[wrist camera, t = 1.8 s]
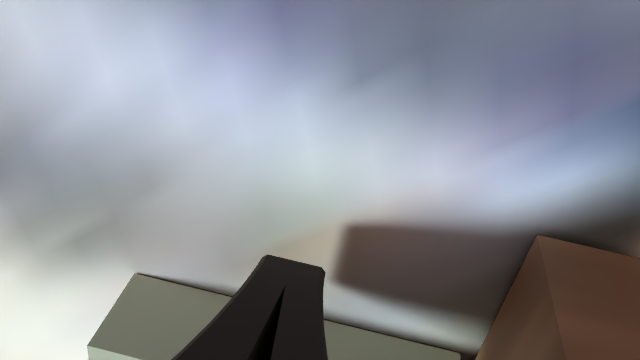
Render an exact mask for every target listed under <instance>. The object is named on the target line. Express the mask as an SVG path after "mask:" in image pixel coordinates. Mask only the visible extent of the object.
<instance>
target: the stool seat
mask: <svg viewBox="0 0 640 360" xmlns="http://www.w3.org/2000/svg"><path fill="white" fill-rule="evenodd" d="M231 298H232V297H229V296H224V295H220V294H216V293H212V292H208V291H204V290H200V289H196V288H192V287H188V286H184V285H180V284H176V283H172V282H167V281H163V280H159V279H155V278H151V277H147V276H143V275H139V274H134V275H133V277H132V278H131V280H130V281H129V283H128V284H127V286H126V287H125V289H124V290H123V292H122V293H121V295H120V296H119V298H118V299H117V301H116V303H115V304H114V306H113V307H112V309H111V310H110V312H109V313H108V315H107V316H106V318H105V319H104V321H103V322H102V324H101V325H100V327H99V328H98V330H97V332H96V333H95V335H94V336H93V338H92V339H91V341H90V342H89V344H88V345H87V348H88V355H89V360H171V359H172V358H173V357H175V356H176V355H177V354H178V353H179V352H180V351H181V350H182V349H183V348H184V347H185V346H186V345H187V344H188V343H189V342H190V341H191V340H192V339H193V338H195V337H196V336H197V335H198V334H199V333H200V332H201V331H202V330H203V329H204V328H205V327H206V326H207V325H208V324H209V323H210V322H211V321H212V319H213V318H214V317H215V316H216V315H217V314H218V313H219V312H220V311H221V309H222V308H223V307H224V306H225V305H226V304H227V303H228V302H229V301H230V299H231ZM324 331H325V339H326V348H327V356H328V360H461V359H460V353H457V352H453V351H448V350H444V349H440V348H436V347H432V346H428V345H424V344H420V343H416V342H412V341H408V340H404V339H400V338H396V337H391V336H387V335H383V334H379V333H375V332H371V331H367V330H363V329H359V328H355V327H351V326H347V325H343V324H339V323H334V322H330V321H326V320H324Z"/></svg>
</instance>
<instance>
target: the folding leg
mask: <svg viewBox="0 0 640 360" xmlns="http://www.w3.org/2000/svg"><path fill="white" fill-rule="evenodd" d="M475 360H640V258H636V257H632V256H627V255H623V254H619V253H614V252H610V251H606V250H601V249H597V248H593V247H588V246H584V245H580V244H575V243H571V242H567V241H562V240H558V239H554V238H549V237H545V236H541V235H537V236H536V238H535V240H534V242H533V244H532V246H531V248H530V250H529V252H528V254H527V256H526V258H525V260H524V262H523V264H522V266H521V268H520V270H519V272H518V274H517V276H516V278H515V280H514V282H513V284H512V286H511V288H510V290H509V292H508V294H507V296H506V298H505V300H504V302H503V304H502V306H501V308H500V310H499V312H498V314H497V316H496V318H495V320H494V322H493V324H492V327H491V329H490V331H489V333H488V335H487V337H486V339H485V341H484V343H483V345H482V347H481V349H480V351H479V353H478V355H477V357H476V359H475Z"/></svg>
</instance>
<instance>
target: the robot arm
mask: <svg viewBox="0 0 640 360" xmlns="http://www.w3.org/2000/svg"><path fill="white" fill-rule="evenodd" d="M324 277H325V271H324V270H323V269H322V267H318V266H314V265H309V264H305V263H301V262H297V261H293V260H289V259H284V258H280V257H276V256H272V255H266V256H264V257H262V259H261V260H260V262H259V263H258V265H257V266H256V268H255V269H254V271H253V272H252V273H251V275H250V276H249V277H248V279H247V280H246V281H245V283H244V284H243V285H242V286H241V288H240V289H239V290H238V291H237V292H236V294H235V295H234V296H233V297H232V298H231V299H230V301H229V302H228V303H227V304H226V305H225V306H224V307H223V308H222V309H221V311H220V312H219V313H218V314H217V315H216V316H215V317H214V318H213V319H212V321H211V322H210V323H209V324H208V325H207V326H206V327H205V328H204V329H203V330H202V331H201V332H200V333H199V334H198V335H197V336H196V337H195V338H193V339H192V340H191V341H190V342H189V343H188V344H187V345H186V346H185V347H184V348H183V349H182V350H181V351H180V352H179V353H178V354H177V355H176V356H175V357H173V358H172V359H171V360H328V356H327V348H326V339H325V331H324V318H323V286H324Z"/></svg>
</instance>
